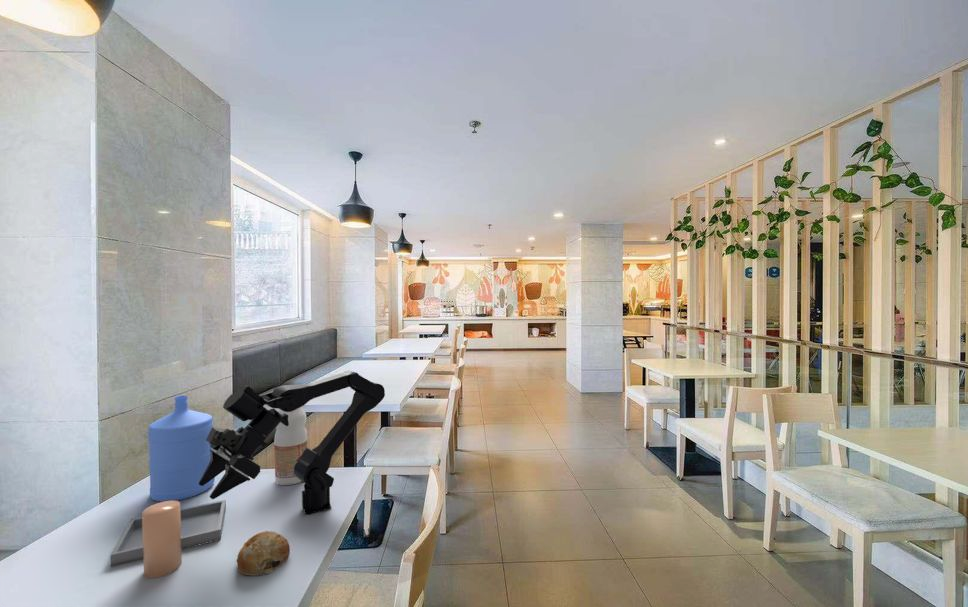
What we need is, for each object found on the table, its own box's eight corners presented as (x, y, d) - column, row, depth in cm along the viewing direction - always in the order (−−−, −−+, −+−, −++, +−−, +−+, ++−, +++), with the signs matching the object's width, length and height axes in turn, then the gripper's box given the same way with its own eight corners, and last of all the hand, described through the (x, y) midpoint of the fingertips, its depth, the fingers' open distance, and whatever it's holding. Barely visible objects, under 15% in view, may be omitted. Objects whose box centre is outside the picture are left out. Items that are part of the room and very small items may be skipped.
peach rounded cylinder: (183, 555, 93) (182, 497, 92) (178, 571, 87) (177, 511, 87) (147, 564, 90) (146, 505, 89) (140, 582, 84) (138, 519, 84)
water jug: (202, 499, 118) (199, 401, 117) (137, 506, 114) (134, 405, 113) (222, 475, 133) (220, 389, 132) (166, 481, 129) (164, 392, 128)
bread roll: (248, 598, 84) (256, 569, 82) (224, 561, 89) (231, 533, 87) (292, 570, 93) (301, 543, 91) (268, 538, 98) (276, 512, 96)
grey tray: (225, 508, 112) (225, 499, 112) (220, 539, 98) (220, 529, 98) (131, 529, 103) (131, 519, 103) (111, 566, 89) (110, 555, 89)
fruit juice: (282, 489, 124) (280, 396, 123) (270, 479, 130) (268, 391, 129) (313, 478, 130) (311, 390, 130) (300, 470, 137) (299, 386, 136)
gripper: (219, 406, 104) (165, 462, 96) (244, 421, 91) (184, 488, 83) (253, 429, 110) (205, 484, 102) (281, 447, 97) (229, 511, 89)
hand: (205, 491), depth 94 cm, fingers open, 9 cm apart
